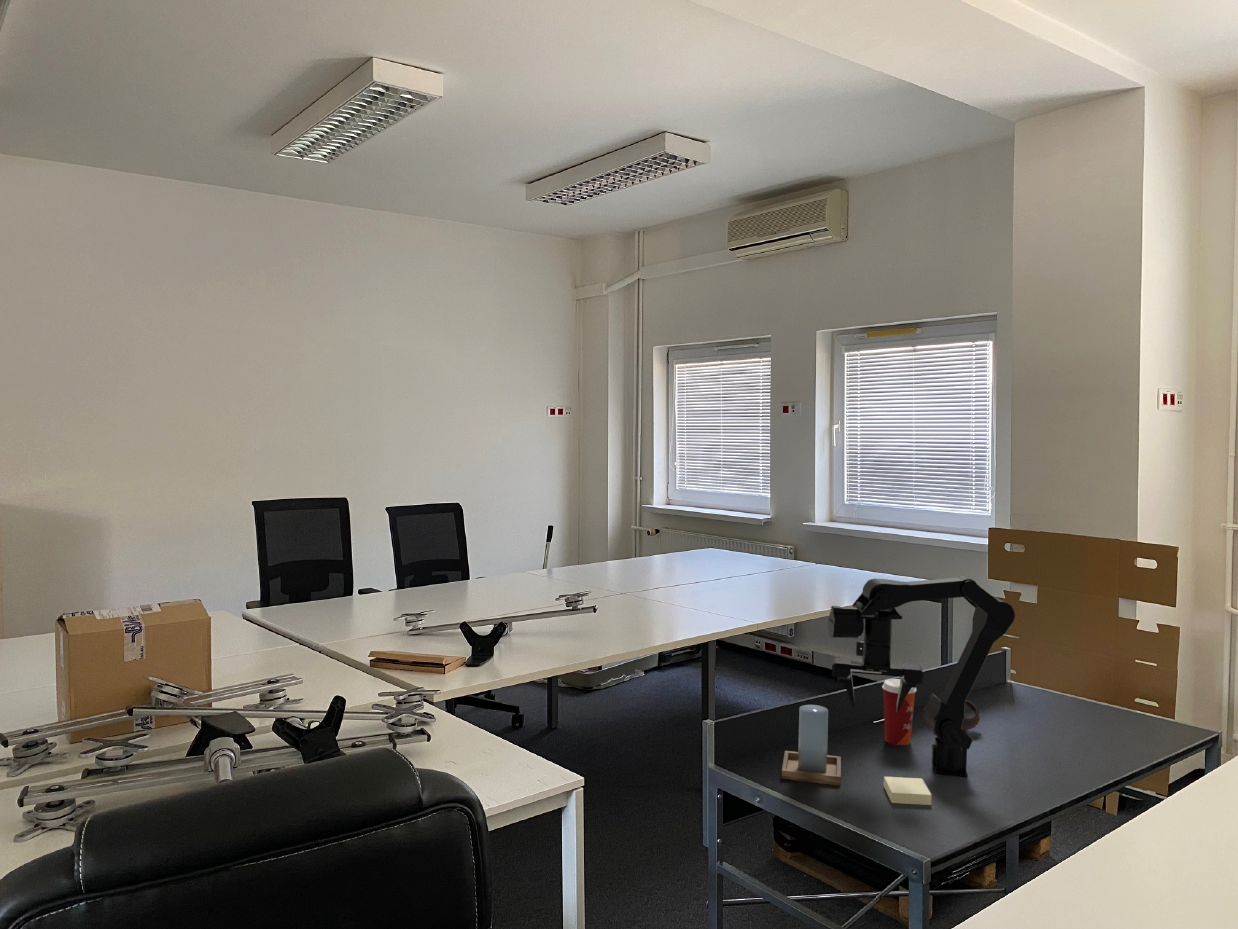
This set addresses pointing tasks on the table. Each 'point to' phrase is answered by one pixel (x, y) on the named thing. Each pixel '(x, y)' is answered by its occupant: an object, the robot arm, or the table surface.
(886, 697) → the paper cup
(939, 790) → the table surface
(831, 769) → the tray
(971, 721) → the pottery mug
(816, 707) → the pale blue cylinder
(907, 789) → the sticky note pad
